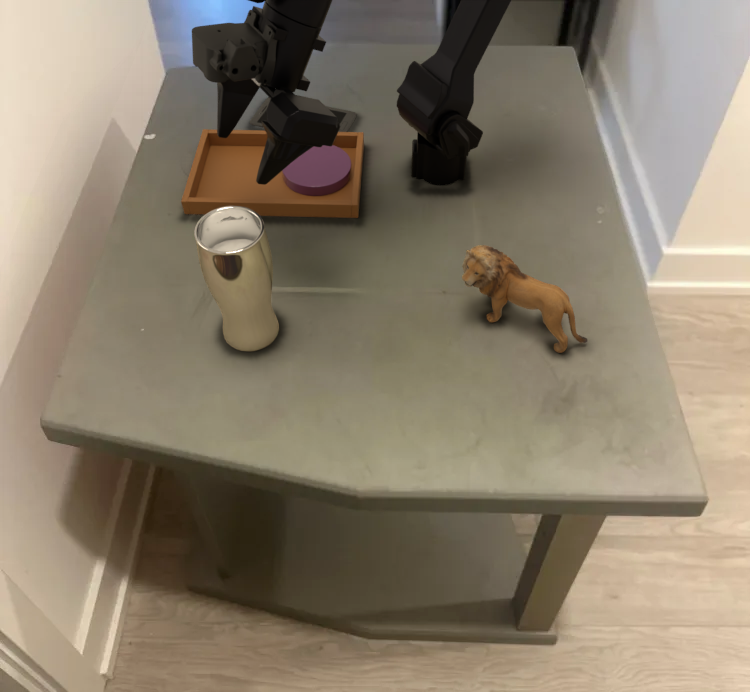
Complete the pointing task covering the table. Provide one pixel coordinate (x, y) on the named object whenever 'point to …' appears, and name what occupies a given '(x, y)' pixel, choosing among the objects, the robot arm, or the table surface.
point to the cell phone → (343, 116)
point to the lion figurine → (518, 291)
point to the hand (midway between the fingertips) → (240, 159)
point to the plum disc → (318, 171)
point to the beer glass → (239, 274)
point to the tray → (239, 187)
